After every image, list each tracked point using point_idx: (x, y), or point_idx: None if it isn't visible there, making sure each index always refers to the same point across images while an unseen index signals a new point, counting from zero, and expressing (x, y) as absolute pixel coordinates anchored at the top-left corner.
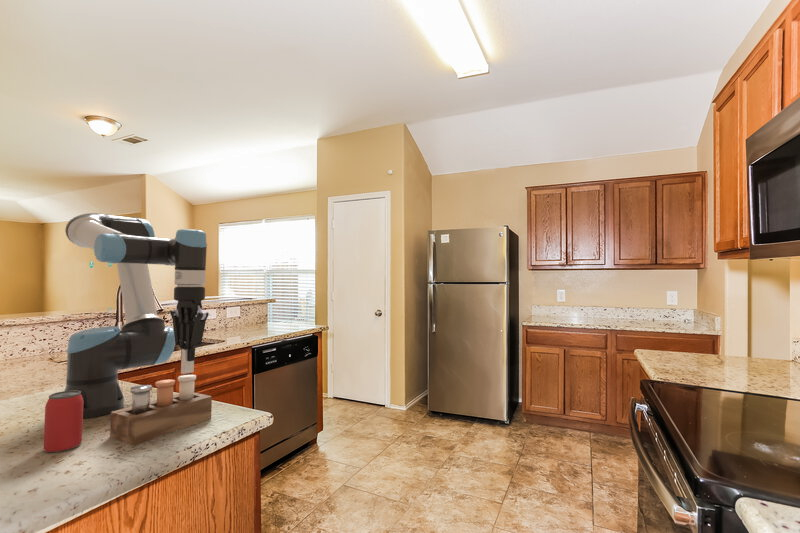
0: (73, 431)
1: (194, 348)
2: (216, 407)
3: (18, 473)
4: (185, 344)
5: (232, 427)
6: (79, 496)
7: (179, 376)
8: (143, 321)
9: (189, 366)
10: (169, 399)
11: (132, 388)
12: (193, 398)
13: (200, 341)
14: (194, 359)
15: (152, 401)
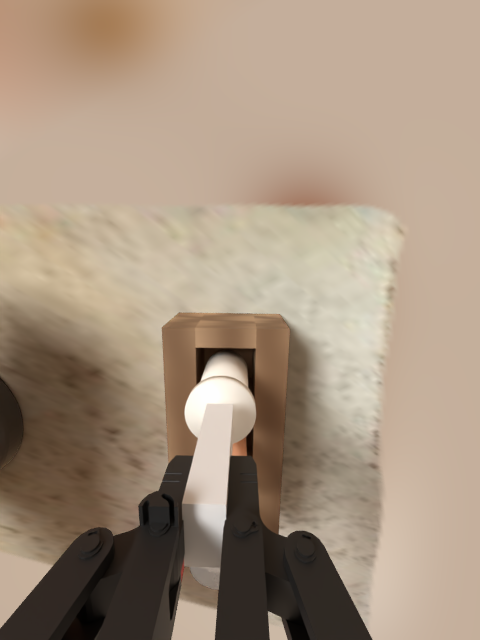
0: (181, 571)
1: (265, 533)
2: (213, 241)
3: (215, 599)
4: (171, 576)
5: (382, 333)
6: (368, 595)
7: (189, 426)
8: None
9: (231, 444)
10: (246, 450)
11: (209, 583)
12: (256, 373)
13: (342, 597)
14: (253, 459)
15: (174, 444)
